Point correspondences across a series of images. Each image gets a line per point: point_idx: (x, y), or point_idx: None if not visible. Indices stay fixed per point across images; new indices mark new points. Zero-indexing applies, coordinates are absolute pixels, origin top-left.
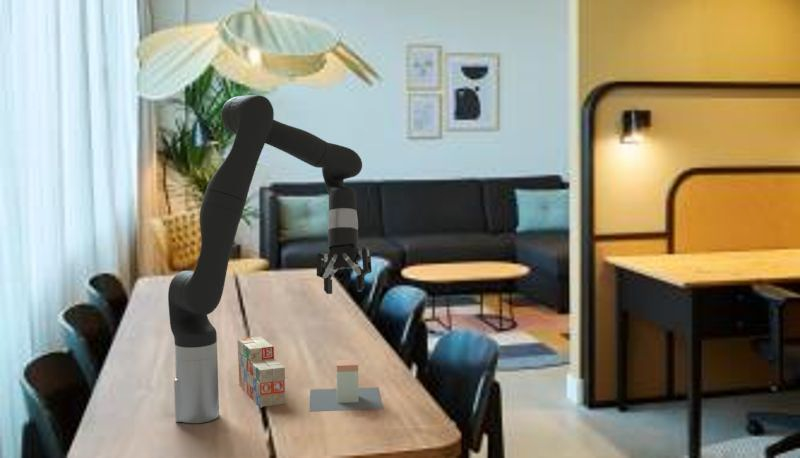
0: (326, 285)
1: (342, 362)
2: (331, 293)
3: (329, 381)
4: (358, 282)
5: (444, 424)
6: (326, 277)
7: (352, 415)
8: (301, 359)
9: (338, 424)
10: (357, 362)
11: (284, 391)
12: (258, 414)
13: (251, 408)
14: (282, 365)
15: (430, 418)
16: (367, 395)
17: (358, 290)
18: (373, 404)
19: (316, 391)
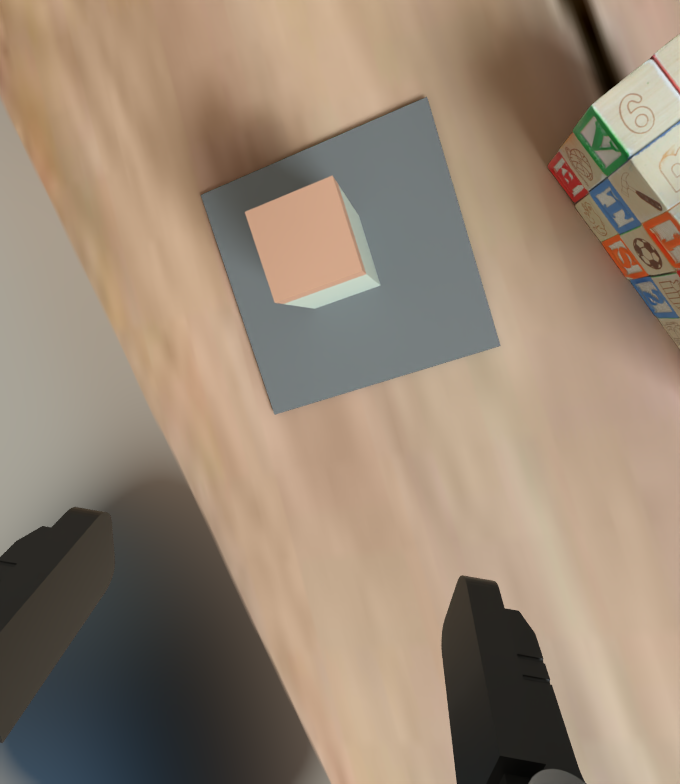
0: (504, 656)
1: (323, 237)
2: (444, 626)
3: (463, 472)
4: (15, 567)
5: (16, 117)
6: (531, 779)
7: (280, 120)
8: (660, 743)
9: (298, 16)
10: (259, 253)
11: (560, 148)
12: (614, 28)
13: None
14: (614, 136)
15: (62, 159)
16: (284, 318)
17: (86, 510)
18: (240, 228)
19: (470, 327)
